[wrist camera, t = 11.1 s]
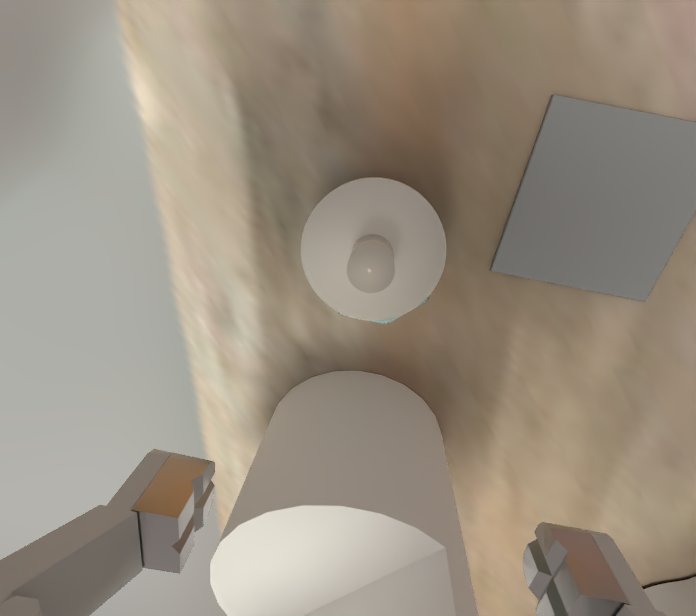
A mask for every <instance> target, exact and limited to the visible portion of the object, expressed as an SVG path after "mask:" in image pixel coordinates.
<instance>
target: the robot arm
mask: <svg viewBox="0 0 696 616" xmlns="http://www.w3.org/2000/svg"><path fill="white" fill-rule="evenodd" d="M214 473H215V462H213V461H209V460H205V459H200V458H195V457H190V456H186V455H182V454H177V453H171V452H166V451H161V450H157V449H153V450H152V451H151V452H149V453H148V454H147V455H146V456H145V457H144V459H143V460H142V461H141V462H140V464H139V465H138V466H137V468H136V469H135V470H134V472H133V473H132V474H131V475H130V476H129V478H128V479H127V480H126V482H125V483H124V484H123V485H122V487H121V488H120V489H119V491H118V492H117V493H116V494H115V496H114V497H113V498H112V500H111V501H110V502H109V503H108V505H107V506H103V505H99V506H97V507H95V508H94V509H92V510H90V511H88V512H86V513H85V514H83V515H81V516H79V517H77V518H76V519H74V520H72V521H70V522H68V523H67V524H65V525H63V526H61V527H59V528H58V529H56V530H54V531H52V532H50V533H48V534H47V535H45V536H43V537H41V538H39V539H38V540H36V541H34V542H32V543H30V544H29V545H27V546H25V547H24V548H21V549H20V550H18V551H16V552H14V553H13V554H11V555H9V556H7V557H6V558H3V559H2V560H0V616H89V615H90V614H92V613H93V612H94V611H95V610H96V609H98V608H99V607H100V606H101V605H102V604H103V603H105V601H107V600H108V599H109V598H111V597H112V596H113V595H114V594H115V593H116V592H118V591H119V590H120V589H121V588H122V587H123V586H125V585H126V584H127V583H128V582H129V581H130V580H132V578H134V577H135V576H136V575H138V574H139V573H140V572H141V571H142V568H148V569H155V570H161V571H167V572H173V573H181V571H182V569H183V567H184V565H185V563H186V561H187V559H188V557H189V554H190V552H191V550H192V548H193V546H194V532H196V531H197V530H199V529H200V528H201V527H203V525H204V523H205V521H206V519H207V517H208V514H209V511H210V508H211V505H212V502H213V497H214V487H215V485H214V484H213V482H212V481H211V479H212V477H213V475H214ZM535 535H536V537H537V539H536V540H534V541H533V542H531V543H529V544H528V545H527V547H526V549H525V551H524V555H523V569H524V575H525V579H526V582H527V585H528V588H529V589H530V590H531V591H532V593H533V594H534V595H535V596H536V597H537V598H538V604H537V607H536V611H537V614H538V616H696V576H695V577H693V578H691V579H687V580H682V581H676V582H670V583H664V584H660V585H656V586H652V587H649V588H646V589H643V588H642V586H641V585H640V583H639V581H638V580H637V578H636V577H635V575H634V573H633V572H632V570H631V568H630V567H629V565H628V563H627V562H626V560H625V558H624V557H623V555H622V554H621V552H620V550H619V549H618V547H617V545H616V544H615V542H614V540H613V539H612V538H611V537H610V536H609V535H608V534H605V533H600V532H595V531H589V530H583V529H580V528H574V527H568V526H562V525H557V524H551V523H545V522H543V523H541V524H539V525H538V526H537V528H536V530H535Z"/></svg>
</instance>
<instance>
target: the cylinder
mask: <svg viewBox="0 0 696 616" xmlns="http://www.w3.org/2000/svg"><path fill="white" fill-rule="evenodd" d="M210 577H211V578H210V584H211V586H212V589H213V592H214V594H215V597H216V599H217V601H218V604H219V605H220V607H221V608H222V609H223V610H224V612H225V613H226V614H227V615H228V616H479V615H478V611H477V606H476V601H475V596H474V591H473V586H472V581H471V576H470V571H469V566H468V561H467V556H466V551H465V546H464V541H463V536H462V531H461V526H460V521H459V517H458V512H457V507H456V502H455V497H454V492H453V487H452V482H451V477H450V472H449V467H448V462H447V457H446V452H445V447H444V442H443V437H442V433H441V430H440V427H439V425H438V422H437V419H436V416H435V415H434V413H433V412H432V411H431V409H430V408H429V407H428V405H427V404H426V403H425V401H424V400H423V399H422V398H421V397H420V396H418V395H417V394H416V393H414V392H413V391H412V390H410V389H409V388H408V387H407V386H405V385H404V384H401V383H399V382H397V381H394V380H392V379H390V378H388V377H385V376H383V375H379V374H373V373H368V372H363V371H333V372H329V373H325V374H322V375H318V376H315V377H311V378H309V379H307V380H306V381H304V382H302V383H300V384H299V385H297V386H295V387H293V388H292V389H291V390H290V391H289V392H288V393H287V394H286V395H285V396H284V397H283V398H282V400H281V401H280V402H279V403H278V405H277V407H276V409H275V411H274V414H273V416H272V418H271V420H270V422H269V425H268V427H267V430H266V432H265V434H264V437H263V439H262V441H261V444H260V446H259V449H258V451H257V453H256V456H255V458H254V460H253V463H252V465H251V468H250V470H249V472H248V475H247V477H246V479H245V482H244V484H243V487H242V489H241V491H240V494H239V496H238V498H237V501H236V503H235V506H234V508H233V510H232V513H231V515H230V517H229V520H228V522H227V525H226V527H225V529H224V532H223V534H222V536H221V539H220V541H219V544H218V546H217V548H216V551H215V553H214V556H213V558H212V560H211V571H210Z"/></svg>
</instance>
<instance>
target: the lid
mask: <svg viewBox="0 0 696 616" xmlns="http://www.w3.org/2000/svg"><path fill="white" fill-rule="evenodd" d="M446 253H447V248H446V237H445V232H444V229H443V226H442V223H441V221H440V219H439V217H438V215H437V213H436V212H435V210H434V209H433V207H432V206H431V205H430V203H429V202H428V201H427V200H426V199H425V198H424V197H423V196H422V195H421V194H420V193H418V192H417V191H416V190H414V189H413V188H411V187H410V186H408V185H406V184H404V183H402V182H399V181H396V180H393V179H389V178H382V177H367V178H360V179H356V180H352V181H349V182H347V183H345V184H342V185H341V186H339V187H337V188H336V189H334V190H333V191H331V192H330V193H329V194H328V195H326V196H325V197H324V198H323V199H322V200H321V201H320V202H319V203H318V204H317V205H316V207H315V208H314V210H313V211H312V212H311V214H310V216H309V218H308V220H307V222H306V224H305V227H304V230H303V234H302V239H301V260H302V265H303V269H304V272H305V275H306V277H307V280H308V282H309V284H310V285H311V287H312V288H313V290H314V291H315V293H316V294H317V295H318V296H319V297H320V298H321V299H322V300H323V301H324V302H325V303H326V304H327V305H328V306H330V307H331V308H333V309H334V310H336V311H338V312H339V313H341V314H344V315H346V316H349V317H352V318H355V319H360V320H368V321H378V320H387V319H391V318H395V317H398V316H401V315H403V314H405V313H407V312H409V311H411V310H413V309H414V308H416V307H417V306H418V305H420V304H421V303H422V302H423V301H424V300H425V299H426V298H427V297H428V296H429V295H430V294H431V293H432V291H433V290H434V289H435V287H436V285H437V284H438V282H439V280H440V278H441V275H442V273H443V270H444V266H445V262H446Z"/></svg>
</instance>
